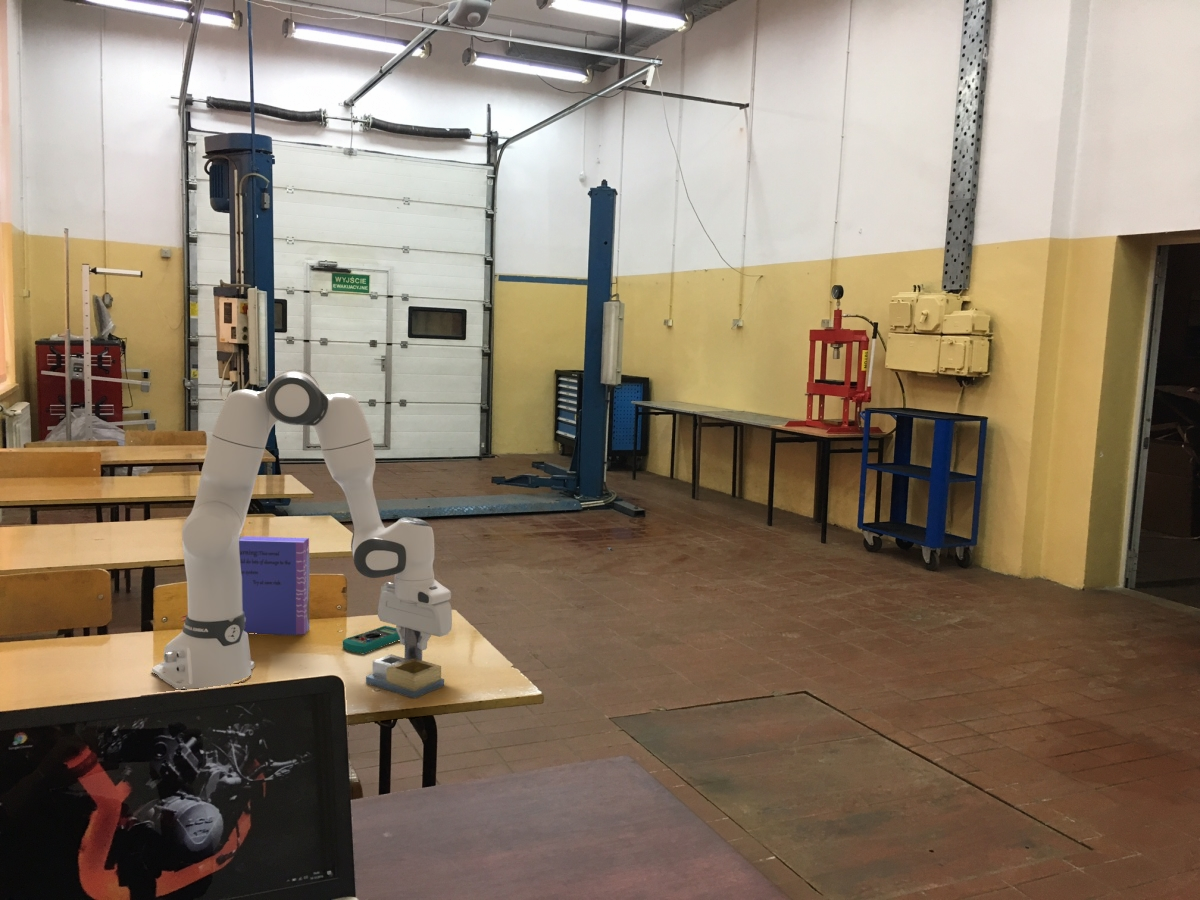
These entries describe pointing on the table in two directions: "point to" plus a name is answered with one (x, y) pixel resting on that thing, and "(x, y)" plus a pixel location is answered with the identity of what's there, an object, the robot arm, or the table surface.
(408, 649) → the cylinder
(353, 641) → the digital multimeter
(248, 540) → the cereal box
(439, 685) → the desk organizer
